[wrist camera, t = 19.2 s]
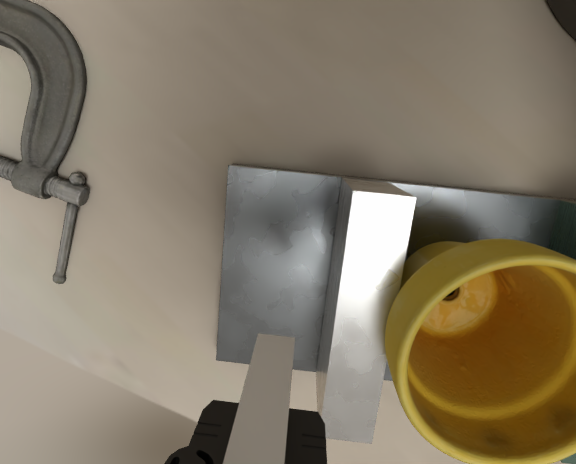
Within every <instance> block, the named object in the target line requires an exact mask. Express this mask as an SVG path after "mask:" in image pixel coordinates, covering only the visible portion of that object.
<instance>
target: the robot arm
mask: <svg viewBox="0 0 576 464" xmlns="http://www.w3.org/2000/svg"><path fill="white" fill-rule="evenodd" d="M547 1H548V3H549V5H550V7H551V9H552V11H553V13H554V14H555V16H556V17H557V19H558V20H559V22H560V23H561V24H562V26H563V27H564V28H565V29H566V30H567V32H568V33H569V34H570V35H571V36H572V37H573V38H575V39H576V0H547ZM294 343H295V337H286V336H278V335H269V334H261V333H258V336H257V340H256V343H255V347H254V351H253V354H252V358H251V362H250V365H249V369H248V373H247V376H246V380H245V384H244V387H243V391H242V395H241V398H240V402H239V403H233V402H225V401H217V400H213V401H212V402H211V403H210V404H209V405H207V406H206V407H205V408H204V409H203V411H202V413H201V416H200V418H199V421H198V425H197V426H196V428H195V431H194V435H193V436H192V439H191V441H190V444H189V446H187V447H184V448H181V449H178V450H177V451H176V452H174V453H173V454H171V455H170V456H169V458H168V459H167V461H166V462H165V464H327V454H326V432H325V423H324V421H323V419H322V418H321V416H320V414H319V412H314V411H306V410H298V409H290V408H289V403H290V391H291V379H292V367H293V355H294Z"/></svg>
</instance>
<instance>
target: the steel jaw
mask: <svg viewBox="0 0 576 464" xmlns="http://www.w3.org/2000/svg"><path fill="white" fill-rule="evenodd" d="M415 202H416V197H415V196H413V195H411V194H409V193H407V192H406V191H404V190H402V189H400V188H398V187H397V186H395V185H393V184H391V183H386V182H377V181H367V180H358V179H348V178H342V182H341V190H340V197H339V205H338V212H337V220H336V228H335V235H334V243H333V250H332V258H331V265H330V273H329V280H328V288H327V295H326V303H325V310H324V318H323V325H322V333H321V340H320V348H319V356H318V363H317V371H316V387H317V412H319V414H320V416H321V418H322V419H323V421H324V423H325V432H326V438H327V439H336V440H344V441H352V442H361V443H369V444H372V439H373V434H374V428H375V423H376V417H377V412H378V406H379V401H380V395H381V390H382V384H383V379H384V373H385V368H386V362H387V357H386V350H385V330H386V323H387V319H388V315H389V312H390V309H391V307H392V304H393V302H394V300H395V298H396V296H397V294H398V293H399V290H400V285H401V279H402V274H403V268H404V262H405V257H406V251H407V246H408V240H409V235H410V229H411V224H412V218H413V213H414V207H415Z"/></svg>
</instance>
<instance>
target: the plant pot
mask: <svg viewBox="0 0 576 464" xmlns="http://www.w3.org/2000/svg"><path fill="white" fill-rule="evenodd" d="M454 290H455V292H454V293H453V294H452V295H451V296H448V297H446V296H447V295H448V294H450V293H451V292H452V291H454ZM385 350H386V357H387V361H388V365H389V369H390V373H391V376H392V380H393V383H394V386H395V389H396V392H397V395H398V397H399V400H400V403H401V405H402V407H403V409H404V411H405V413H406V415H407V417H408V419H409V420H410V422H411V423H412V425H413V426H414V427H415V428H416V430H417V431H418V432H419V433H420V434H421V435H422V436H423V437H424V438H425V439H426V440H427V441H428V442H429V443H430V444H432V445H433V446H434V447H436V448H437V449H438V450H440V451H442V452H443V453H445V454H447V455H449V456H451V457H453V458H455V459H457V460H460V461H462V462H465V463H468V464H550V463H554V462H557V461H560V460H562V459H565V458H567V457H569V456H571V455H573V454H575V453H576V260H575V259H572V258H570V257H568V256H565V255H563V254H560V253H558V252H556V251H553V250H550V249H547V248H545V247H542V246H539V245H536V244H532V243H529V242H524V241H519V240H513V239H486V240H478V241H473V242H469V243H462V242H454V241H443V242H437V243H432V244H429V245H427V246H424V247H422V248H420V249H419V250H417V251H416V252H415V253H413V254H412V255H411V256H410V257H409V258H408V259H407V260H406V261H405V262H404V268H403V274H402V279H401V285H400V290H399V293H398V294H397V296H396V298H395V300H394V302H393V304H392V307H391V309H390V312H389V315H388V319H387V323H386V330H385Z"/></svg>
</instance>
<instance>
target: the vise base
mask: <svg viewBox="0 0 576 464" xmlns="http://www.w3.org/2000/svg"><path fill="white" fill-rule="evenodd" d="M342 178H348V179H358V180H367V181H377V182H386V183H391V184H393V185H395V186H397V187H398V188H400V189H402V190H404V191H406V192H407V193H409V194H411V195H413V196H415V197H416V202H415V207H414V213H413V218H412V224H411V229H410V235H409V240H408V246H407V251H406V257H405V261H406V260H407V259H408V258H409V257H410V256H411V255H412V254H413V253H415V252H416V251H417V250H419V249H420V248H422V247H424V246H427V245H429V244H432V243H437V242H443V241H454V242H462V243H469V242H473V241H478V240H486V239H513V240H519V241H524V242H529V243H532V244H536V245H539V246H542V247H545V248H547V249H550V250H553V251H556V252H558V253H560V254H563V255H565V256H568V257H570V258H572V259H575V260H576V200H572V199H563V198H553V197H543V196H534V195H524V194H515V193H505V192H496V191H486V190H477V189H467V188H458V187H448V186H438V185H429V184H419V183H410V182H400V181H391V180H381V179H372V178H362V177H353V176H343V175H334V174H324V173H314V172H305V171H295V170H286V169H276V168H267V167H257V166H248V165H238V164H231V165H228V178H227V194H226V210H225V226H224V242H223V258H222V274H221V290H220V306H219V323H218V339H217V355H216V360H218V361H226V362H235V363H244V364H250V362H251V358H252V354H253V351H254V347H255V343H256V340H257V336H258V333H261V334H269V335H278V336H286V337H295V343H294V355H293V367H292V369H295V370H304V371H313V372H316V371H317V363H318V356H319V348H320V340H321V333H322V325H323V318H324V310H325V303H326V295H327V288H328V280H329V273H330V265H331V258H332V250H333V243H334V235H335V228H336V220H337V212H338V205H339V197H340V190H341V182H342ZM454 292H455V290H454V291H452V292H451V293H450V294H448V295H447V296H446V297H448V296H451V295H452V294H453V293H454ZM383 380H390V381H393V380H392V376H391V373H390V369H389V365H388V361H387V362H386V368H385V373H384V379H383ZM560 461H561V462H562V463H570V464H576V453H575V454H573V455H571V456H569V457H567V458H565V459H562V460H560Z"/></svg>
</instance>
